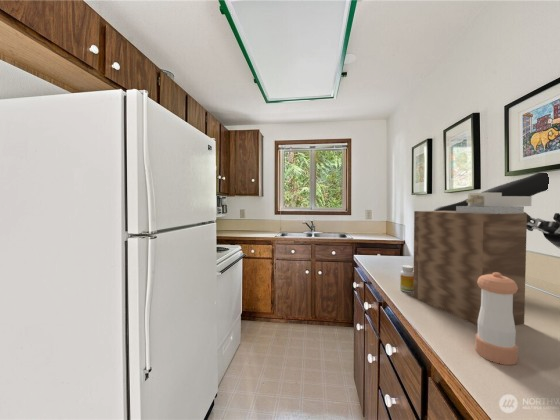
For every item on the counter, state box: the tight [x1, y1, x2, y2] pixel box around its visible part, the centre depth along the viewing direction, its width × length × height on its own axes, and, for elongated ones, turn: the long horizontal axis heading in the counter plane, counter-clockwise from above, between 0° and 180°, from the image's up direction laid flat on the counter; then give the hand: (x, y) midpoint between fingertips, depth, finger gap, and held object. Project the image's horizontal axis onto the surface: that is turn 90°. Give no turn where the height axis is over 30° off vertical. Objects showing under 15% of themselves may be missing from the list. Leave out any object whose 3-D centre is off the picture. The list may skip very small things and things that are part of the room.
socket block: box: [456, 206, 525, 214], centre depth 75 cm, size 11×12×2 cm
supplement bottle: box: [399, 264, 414, 294], centre depth 99 cm, size 5×5×10 cm
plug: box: [465, 192, 533, 207], centre depth 76 cm, size 5×22×4 cm, turn 106°
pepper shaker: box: [474, 272, 518, 366], centre depth 57 cm, size 7×7×19 cm
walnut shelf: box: [412, 210, 528, 327], centre depth 82 cm, size 26×14×32 cm, turn 16°
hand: (538, 215), depth 81 cm, fingers open, 8 cm apart
